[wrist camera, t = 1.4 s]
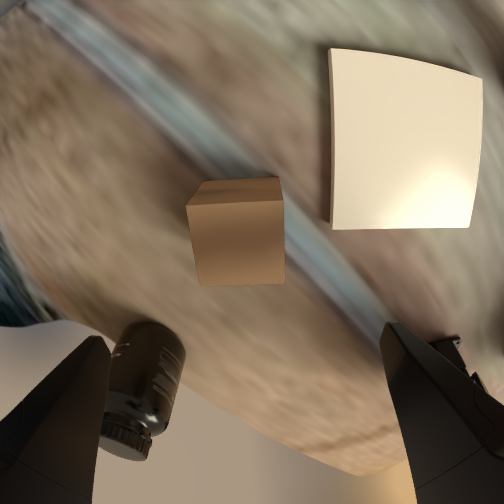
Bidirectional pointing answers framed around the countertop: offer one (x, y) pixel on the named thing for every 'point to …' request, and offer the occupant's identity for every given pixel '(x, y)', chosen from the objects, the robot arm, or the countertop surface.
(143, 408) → the supplement bottle
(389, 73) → the coaster
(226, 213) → the cube
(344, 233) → the countertop surface
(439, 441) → the robot arm
